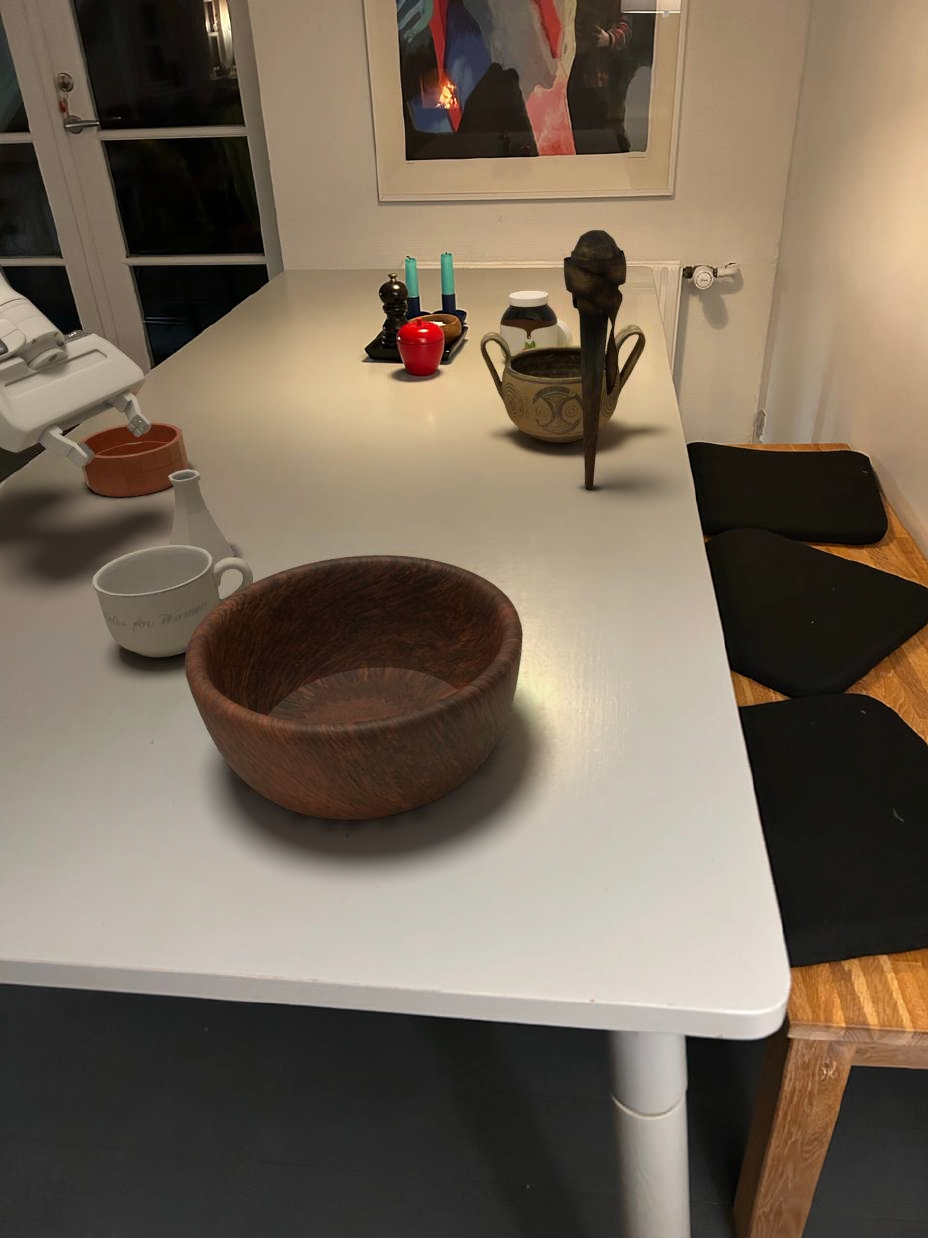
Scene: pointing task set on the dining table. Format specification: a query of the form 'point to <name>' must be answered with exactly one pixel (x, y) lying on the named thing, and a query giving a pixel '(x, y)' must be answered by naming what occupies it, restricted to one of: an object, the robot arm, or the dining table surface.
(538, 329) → the spread jar
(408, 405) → the dining table surface
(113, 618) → the teacup
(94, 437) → the terracotta bowl
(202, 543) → the flask
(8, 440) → the robot arm
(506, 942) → the dining table surface
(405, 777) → the wooden bowl
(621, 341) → the ceramic bowl
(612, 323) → the decorative torch
